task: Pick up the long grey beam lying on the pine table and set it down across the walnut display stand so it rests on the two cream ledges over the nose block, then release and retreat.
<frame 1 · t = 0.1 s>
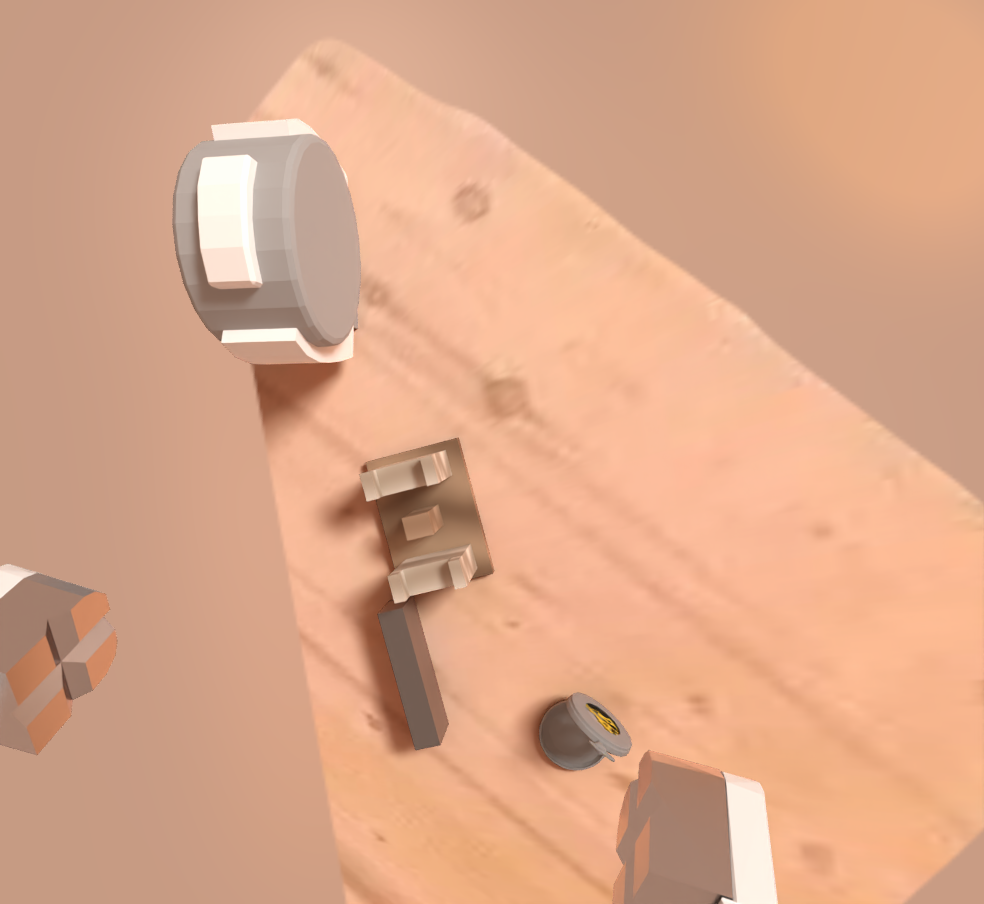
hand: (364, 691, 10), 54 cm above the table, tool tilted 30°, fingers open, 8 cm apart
pocket watch: (583, 721, 65), on the table
long grey beam: (419, 661, 67), on the table
alarm clock: (330, 273, 65), on the table
display stand: (431, 515, 65), on the table
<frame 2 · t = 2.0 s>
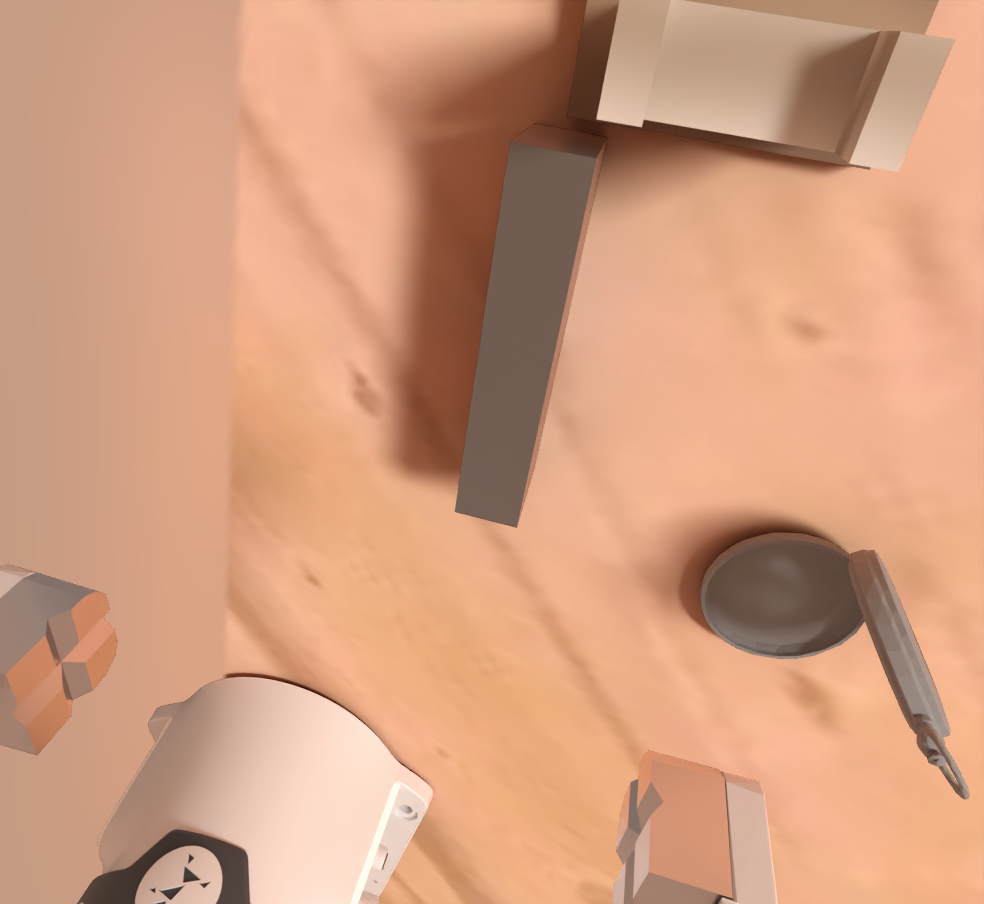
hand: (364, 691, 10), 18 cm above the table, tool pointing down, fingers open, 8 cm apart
pocket watch: (808, 578, 29), on the table
long grey beam: (535, 316, 26), on the table
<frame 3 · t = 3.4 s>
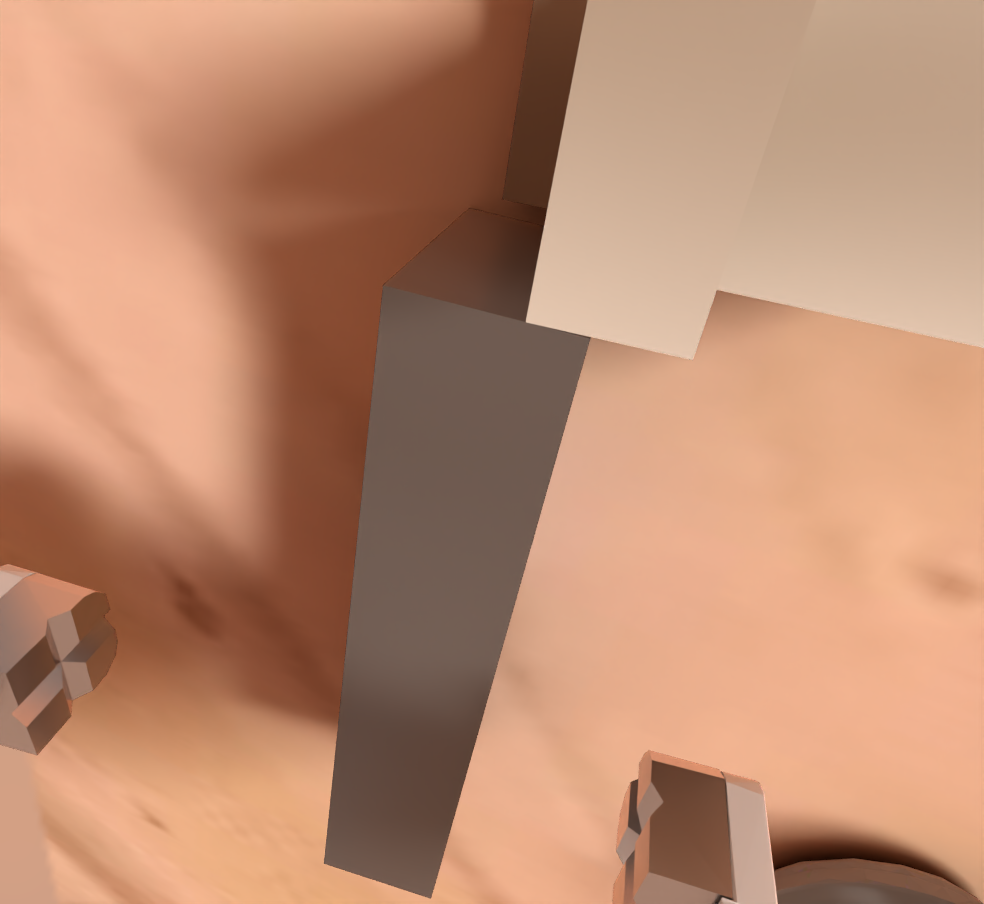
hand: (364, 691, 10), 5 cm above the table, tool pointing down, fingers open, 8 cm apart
long grey beam: (475, 524, 15), on the table
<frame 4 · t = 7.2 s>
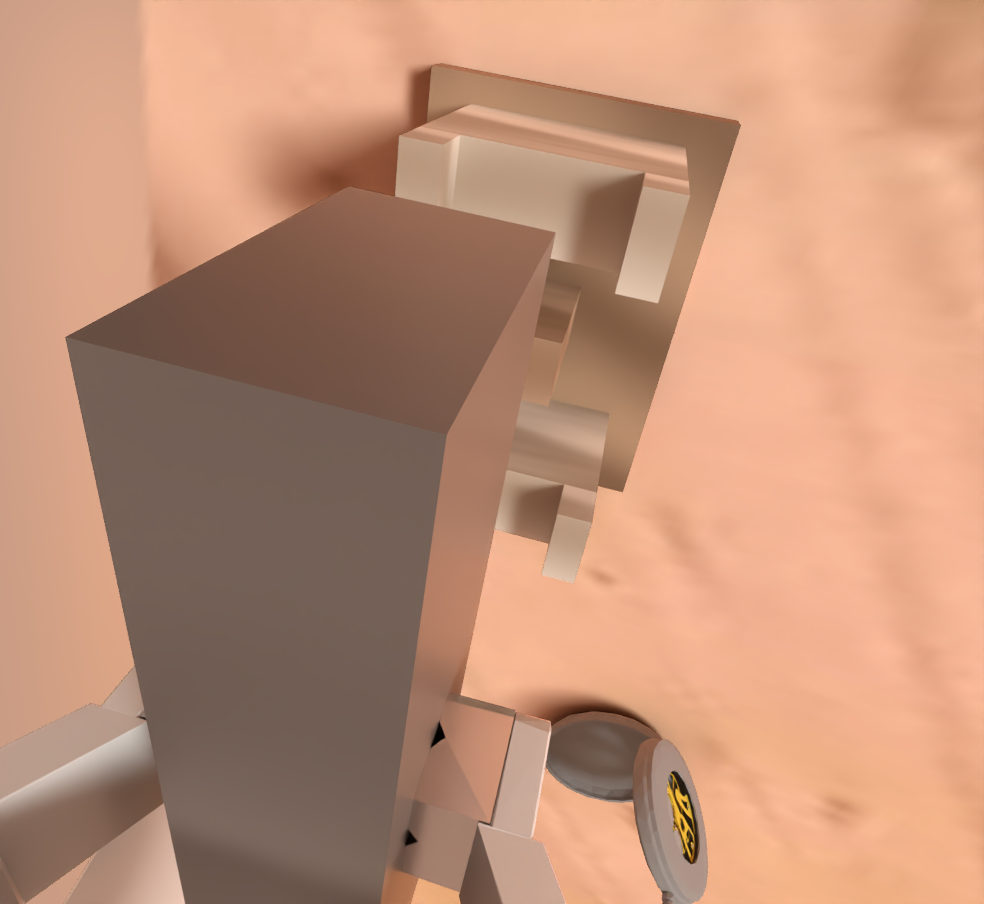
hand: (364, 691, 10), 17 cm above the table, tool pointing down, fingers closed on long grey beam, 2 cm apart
pocket watch: (629, 741, 36), on the table
long grey beam: (402, 610, 11), point 15 cm above the table, touching gripper
display stand: (544, 297, 24), on the table
when the fingers open (8 cm above the table, at t = 9.3 s): long grey beam stays where it is, resting on display stand.
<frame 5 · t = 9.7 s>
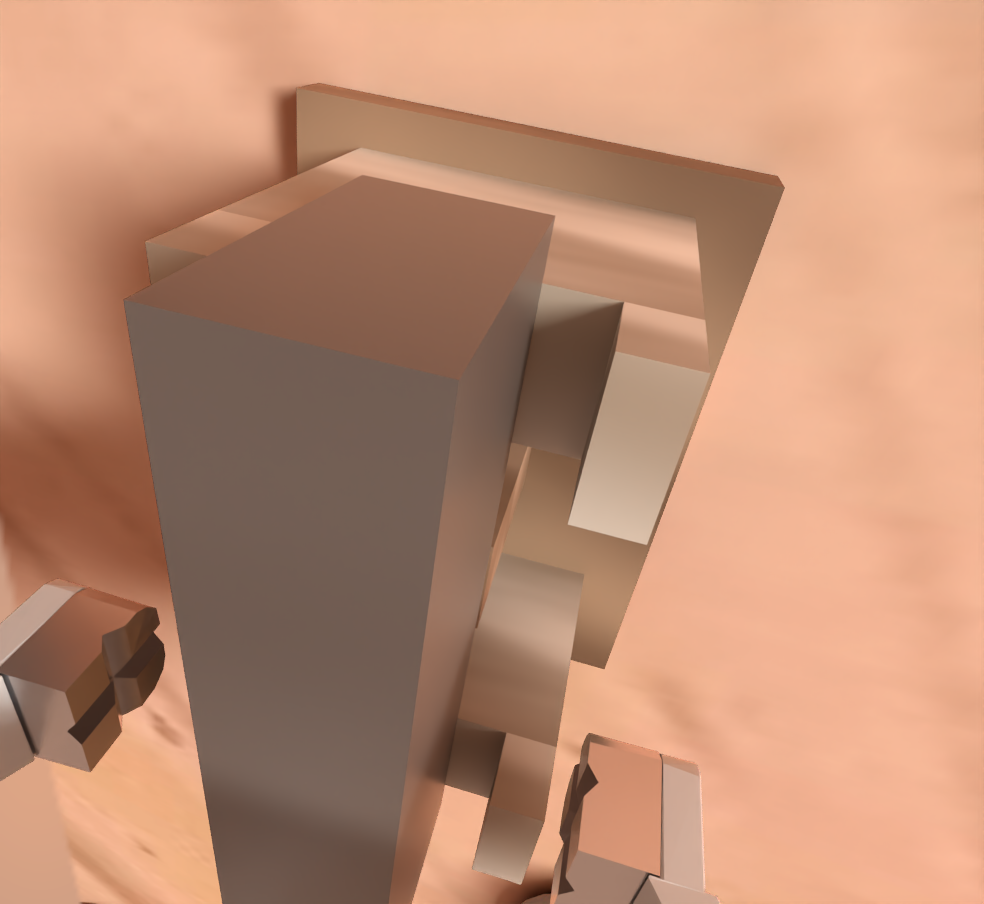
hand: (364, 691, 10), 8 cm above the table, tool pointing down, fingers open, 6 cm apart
long grey beam: (413, 582, 12), point 6 cm above the table, touching display stand
display stand: (490, 415, 17), on the table
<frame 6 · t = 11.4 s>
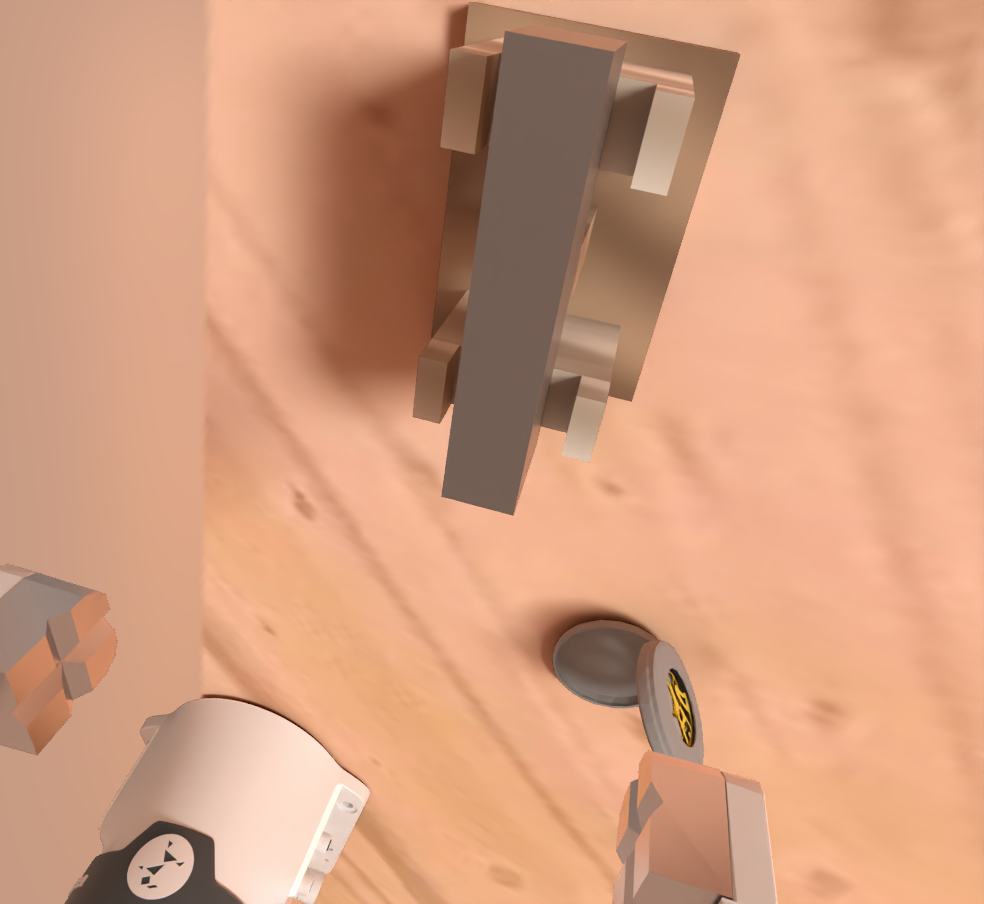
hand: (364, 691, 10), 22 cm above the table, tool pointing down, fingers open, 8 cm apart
pocket watch: (632, 650, 39), on the table
long grey beam: (537, 268, 22), point 6 cm above the table, touching display stand
display stand: (564, 220, 27), on the table
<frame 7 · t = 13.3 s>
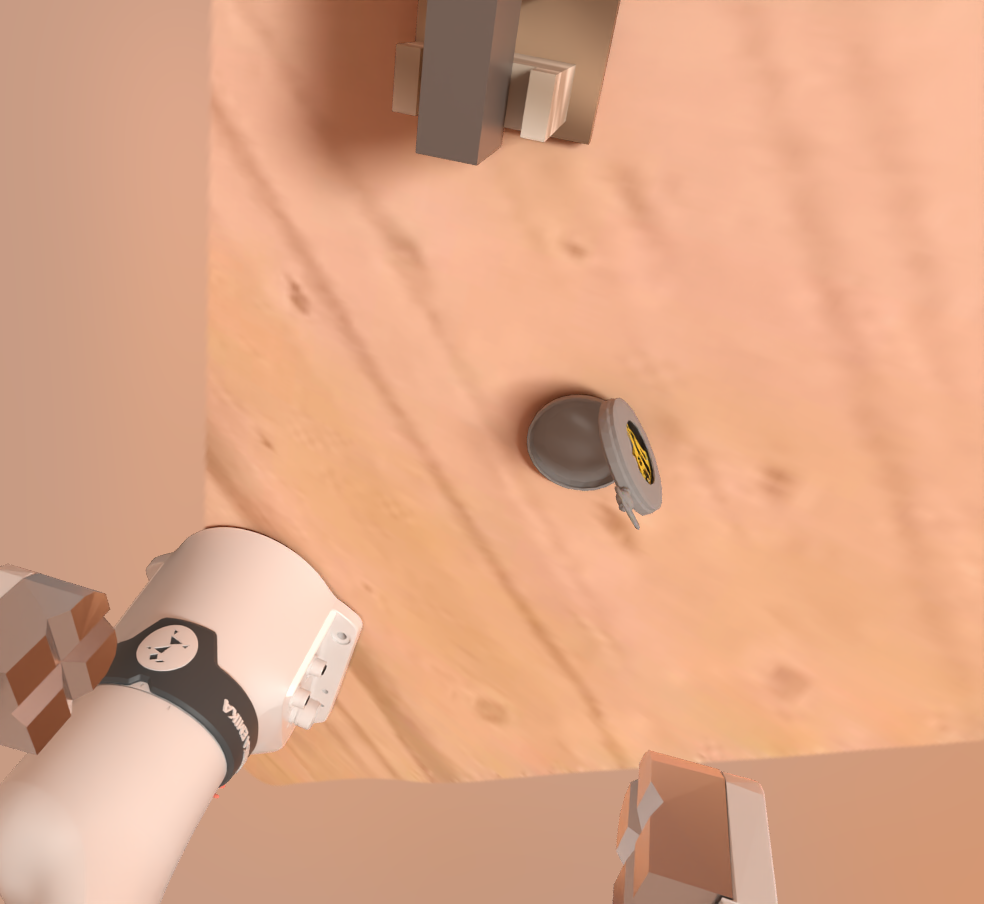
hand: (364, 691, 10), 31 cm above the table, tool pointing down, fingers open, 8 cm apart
pocket watch: (600, 432, 43), on the table
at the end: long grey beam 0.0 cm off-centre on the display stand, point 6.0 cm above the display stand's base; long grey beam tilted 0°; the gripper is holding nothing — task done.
